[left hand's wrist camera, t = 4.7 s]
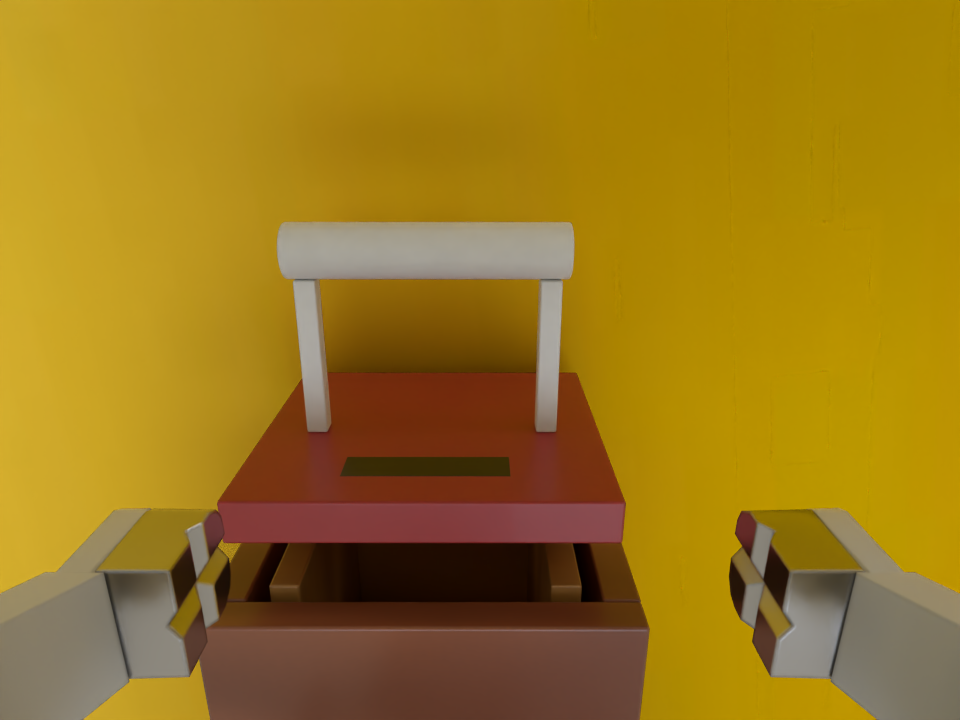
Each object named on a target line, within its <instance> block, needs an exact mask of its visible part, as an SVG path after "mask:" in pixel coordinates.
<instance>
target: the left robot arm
mask: <svg viewBox="0 0 960 720" xmlns="http://www.w3.org/2000/svg"><path fill="white" fill-rule="evenodd" d="M224 535H225V531H224V526H223V521H222V516H221V515H220V514H219V513H218V512H217V511H216V510H200V509H150V508H125V509H119V510H115V511H113V512H112V513H111V514H110V515H109V516H108V517H107V519H106V520H105V521H104V522H103V523H102V524H101V525H100V526H99V527H98V528H97V529H96V530H95V531H94V532H93V533H92V534H91V536H90V537H89V538H88V539H87V540H86V541H85V542H84V543H83V544H82V545H81V546H80V547H79V548H78V549H77V550H76V551H75V553H74V554H73V555H72V556H71V557H70V558H69V559H68V560H67V561H66V562H65V563H64V564H63V565H62V566H61V567H60V568H59V570H58V571H57V572H45V573H43V574H41V575H39V576H37V577H34V578H32V579H30V580H28V581H26V582H24V583H22V584H20V585H17V586H15V587H13V588H11V589H9V590H7V591H5V592H3V593H1V594H0V720H83V719H84V718H85V717H87V716H88V715H89V714H90V713H91V712H93V711H94V710H95V709H96V708H98V707H99V706H100V705H101V704H103V703H104V702H105V701H106V700H107V699H109V698H110V697H111V696H112V695H114V694H115V693H116V692H117V691H118V690H120V689H121V688H122V687H123V686H125V685H126V684H127V683H128V682H129V679H134V678H168V677H190V675H191V673H192V671H193V669H194V667H195V665H196V663H197V661H198V659H199V658H200V656H201V654H202V652H203V650H204V648H205V646H206V644H207V642H208V640H207V634H206V628H208V627H209V626H211V625H212V624H214V623H215V622H217V621H218V620H219V619H220V617H221V615H222V613H223V611H224V609H225V607H226V604H227V600H228V595H229V591H230V584H231V570H230V563H229V558H228V557H227V556H226V555H225V554H224V552H223V551H222V550H221V549H220V548H219V547H218V545H219V543H220V541H221V540H222V538H223V536H224ZM735 535H736V536H737V538H738V540H739V541H740V543H741V545H742V547H741V548H740V549H739V550H738V551H737V552H736V553H735V555H734V556H733V557H732V558H731V564H730V572H729V581H730V592H731V597H732V600H733V604H734V607H735V609H736V611H737V613H738V615H739V617H740V619H741V620H742V621H743V622H745V623H746V624H748V625H749V626H751V627H752V628H754V634H753V640H752V642H753V644H754V646H755V648H756V650H757V652H758V654H759V656H760V658H761V659H762V661H763V663H764V665H765V667H766V669H767V671H768V673H769V675H770V676H771V677H790V678H826V679H831V682H832V683H833V684H834V685H836V686H837V687H838V688H839V689H841V690H842V691H843V692H844V693H845V694H847V695H848V696H849V697H850V698H852V699H853V700H854V701H855V702H857V703H858V704H859V705H860V706H861V707H863V708H864V709H865V710H866V711H868V712H869V713H870V714H871V715H872V716H874V717H875V718H876V719H877V720H960V594H959V593H957V592H955V591H953V590H951V589H949V588H947V587H945V586H942V585H940V584H938V583H936V582H934V581H932V580H930V579H928V578H926V577H923V576H921V575H919V574H917V573H915V572H903V571H902V570H901V568H900V567H899V566H898V565H897V564H896V563H895V562H894V561H893V560H892V559H891V558H890V557H889V556H888V555H887V554H886V552H885V551H884V550H883V549H882V548H881V547H880V546H879V545H878V544H877V543H876V542H875V541H874V540H873V539H872V538H871V537H870V535H869V534H868V533H867V532H866V531H865V530H864V529H863V528H862V527H861V526H860V525H859V524H858V523H857V522H856V521H855V519H854V518H853V517H852V516H851V515H850V514H849V513H848V512H847V511H845V510H842V509H840V508H822V509H802V510H758V511H741V513H740V515H739V518H738V520H737V525H736V531H735Z"/></svg>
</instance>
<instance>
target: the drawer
mask: <svg viewBox="0 0 960 720" xmlns="http://www.w3.org/2000/svg"><path fill="white" fill-rule="evenodd" d="M277 256H278V263H279V267H280V270H281V273H282V275H283V276H284V278H286V279H295V280H294V281H293V288H294V299H295V309H296V319H297V329H298V339H299V349H300V359H301V369H302V379H301V381H300V382H299V384H298V385H297V387H296V388H295V390H294V391H293V392H292V394H291V395H290V397H289V398H288V400H287V401H286V403H285V404H284V406H283V407H282V409H281V410H280V411H279V413H278V414H277V416H276V417H275V419H274V420H273V422H272V423H271V425H270V426H269V427H268V429H267V430H266V432H265V433H264V435H263V436H262V438H261V439H260V441H259V442H258V443H257V445H256V446H255V448H254V449H253V451H252V452H251V454H250V455H249V457H248V458H247V459H246V461H245V462H244V464H243V465H242V467H241V468H240V470H239V471H238V473H237V474H236V476H235V477H234V478H233V480H232V481H231V483H230V484H229V486H228V487H227V489H226V490H225V492H224V493H223V494H222V496H221V497H220V499H219V500H218V502H217V505H218V512H219V514H220V515H221V516H222V521H223V526H224V531H225V535H224V536H223V542H224V543H289V544H288V546H287V548H286V550H285V553H284V555H283V557H282V559H281V562H280V564H279V566H278V568H277V570H276V573H275V575H274V577H273V579H272V581H271V584H270V586H269V587H270V594H271V602H581V591H582V585H581V580H580V576H579V571H578V567H577V562H576V557H575V553H574V548H573V543H622V540H623V529H624V517H625V506H626V503H625V500H624V497H623V495H622V492H621V489H620V487H619V484H618V482H617V479H616V476H615V474H614V471H613V468H612V466H611V463H610V460H609V458H608V455H607V452H606V450H605V447H604V445H603V442H602V439H601V437H600V434H599V431H598V429H597V426H596V423H595V421H594V418H593V415H592V413H591V410H590V407H589V405H588V402H587V400H586V397H585V394H584V392H583V389H582V386H581V384H580V381H579V378H578V376H577V373H559V358H560V335H561V313H562V290H563V282H562V280H561V279H570V277H571V275H572V271H573V263H574V231H573V226H572V223H570V222H284V223H282V224H281V226H280V228H279V231H278V237H277ZM319 279H539V300H538V332H537V364H536V373H327V365H326V353H325V341H324V330H323V318H322V306H321V294H320V282H319Z"/></svg>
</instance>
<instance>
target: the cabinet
mask: <svg viewBox="0 0 960 720" xmlns="http://www.w3.org/2000/svg"><path fill="white" fill-rule="evenodd" d="M288 544H289V543H241V545H240V546H239V548H238V550H237V552H236V553H235V555H234V557H233V559H232V561H231V562H230V570H231V584H230V591H229V595H228V600H227V604H226V607H225V609H224V611H223V613H222V615H221V617H220V619H219V620H218V621H217V622H215V623H214V624H212V625H211V626H209V627H208V628H206V634H207V640H208V642H207V644H206V646H205V648H204V650H203V652H202V654H201V656H200V658H199V661H200V666H201V671H202V677H203V682H204V688H205V693H206V698H207V704H208V709H209V715H210V720H640V711H641V702H642V693H643V684H644V675H645V666H646V657H647V648H648V639H649V630H650V628H649V625H648V622H647V619H646V616H645V613H644V610H643V607H642V605H641V600H640V597H639V594H638V591H637V588H636V585H635V582H634V579H633V576H632V573H631V570H630V567H629V564H628V561H627V558H626V555H625V552H624V549H623V546H622V543H573V548H574V553H575V557H576V562H577V567H578V571H579V576H580V580H581V585H582V591H581V602H271V594H270V587H269V586H270V584H271V581H272V579H273V577H274V575H275V573H276V570H277V568H278V566H279V564H280V562H281V559H282V557H283V555H284V553H285V550H286V548H287V546H288Z"/></svg>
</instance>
